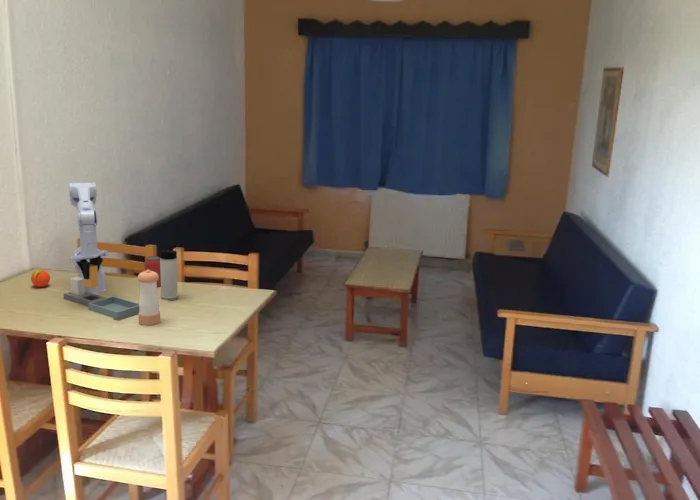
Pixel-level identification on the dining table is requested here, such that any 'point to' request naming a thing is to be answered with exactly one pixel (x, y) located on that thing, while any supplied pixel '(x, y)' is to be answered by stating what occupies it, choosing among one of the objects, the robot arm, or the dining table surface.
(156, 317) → the pepper shaker
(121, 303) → the parts tray
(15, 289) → the dining table surface
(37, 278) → the clementine
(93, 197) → the robot arm
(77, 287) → the fuse
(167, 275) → the travel mug
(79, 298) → the block
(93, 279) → the orange rectangular block
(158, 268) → the beer can
